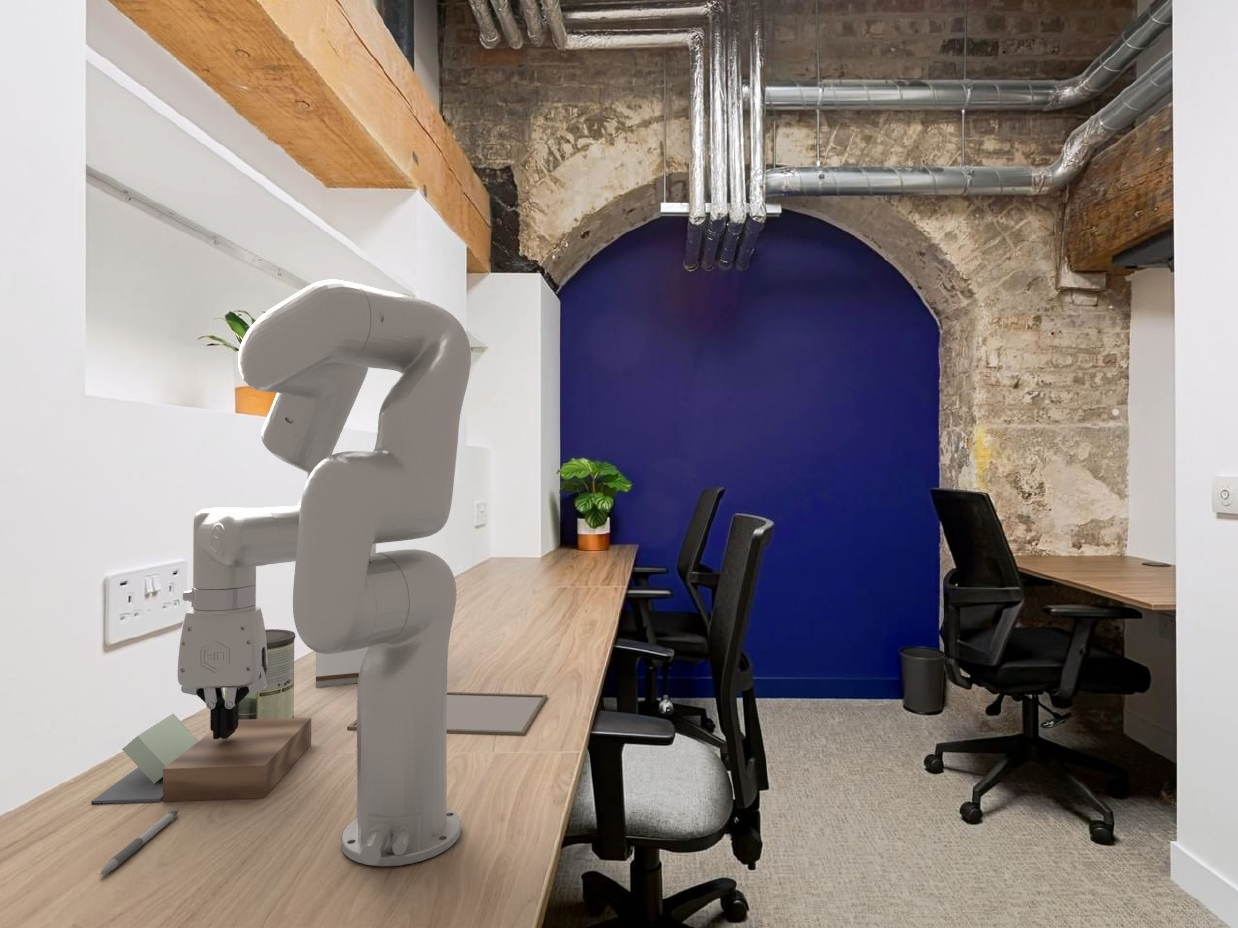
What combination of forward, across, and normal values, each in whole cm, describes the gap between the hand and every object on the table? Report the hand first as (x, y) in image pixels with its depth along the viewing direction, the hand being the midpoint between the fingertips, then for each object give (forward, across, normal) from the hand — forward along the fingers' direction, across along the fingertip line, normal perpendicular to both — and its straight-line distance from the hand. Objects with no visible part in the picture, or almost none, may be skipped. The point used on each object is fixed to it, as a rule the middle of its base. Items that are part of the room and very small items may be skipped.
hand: (224, 735), depth 102 cm
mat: (+5, -8, 0) cm, 9 cm away
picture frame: (+5, +28, +22) cm, 36 cm away
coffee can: (+5, -2, +19) cm, 20 cm away
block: (0, -7, 0) cm, 7 cm away
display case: (+5, +3, +46) cm, 46 cm away
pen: (+5, 0, -20) cm, 21 cm away
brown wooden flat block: (+5, +3, 0) cm, 5 cm away
